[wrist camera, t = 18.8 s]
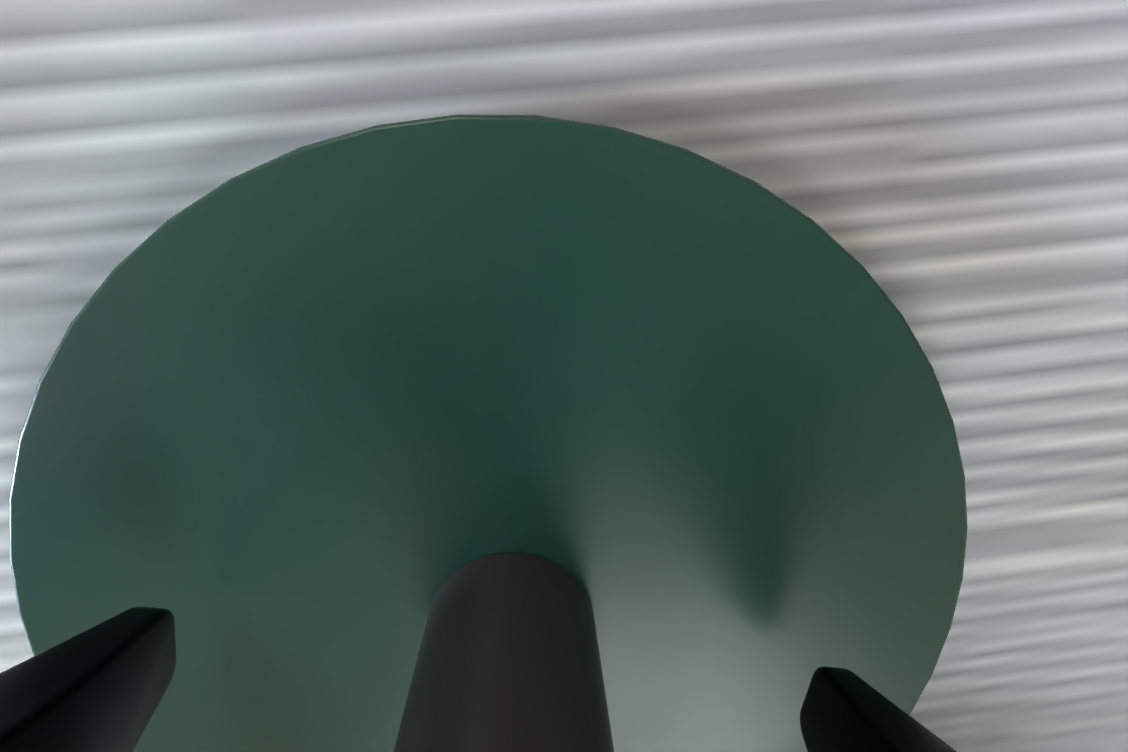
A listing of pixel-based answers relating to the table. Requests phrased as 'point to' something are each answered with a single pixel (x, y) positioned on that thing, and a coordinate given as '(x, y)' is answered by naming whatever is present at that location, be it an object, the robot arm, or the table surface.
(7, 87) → the table surface
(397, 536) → the pot lid
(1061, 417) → the table surface
